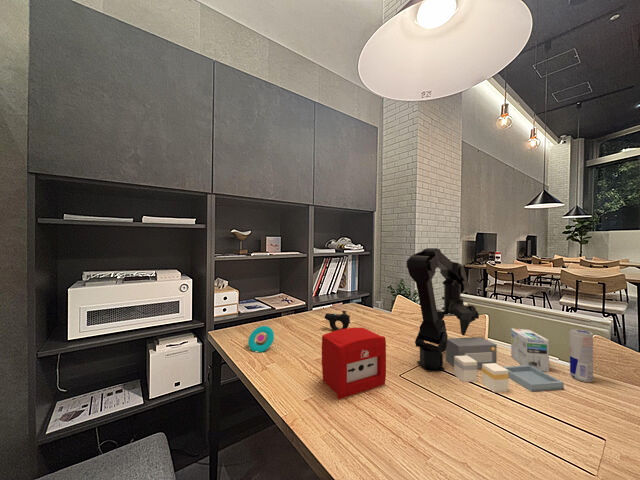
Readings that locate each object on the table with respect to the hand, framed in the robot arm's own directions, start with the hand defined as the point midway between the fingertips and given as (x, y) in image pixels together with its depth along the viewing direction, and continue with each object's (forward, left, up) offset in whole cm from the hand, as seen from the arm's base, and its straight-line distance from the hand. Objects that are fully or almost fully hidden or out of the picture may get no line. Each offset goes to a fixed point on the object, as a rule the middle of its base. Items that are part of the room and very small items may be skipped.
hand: (452, 335), depth 100 cm
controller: (-40, +28, -7) cm, 49 cm away
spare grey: (-8, -18, -7) cm, 21 cm away
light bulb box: (+21, -12, -7) cm, 25 cm away
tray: (+11, -22, -6) cm, 25 cm away
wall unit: (0, -10, -6) cm, 12 cm away
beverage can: (+28, -23, -7) cm, 37 cm away
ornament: (-74, +12, -7) cm, 75 cm away
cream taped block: (-3, -24, -7) cm, 25 cm away
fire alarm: (-44, -17, -7) cm, 48 cm away
